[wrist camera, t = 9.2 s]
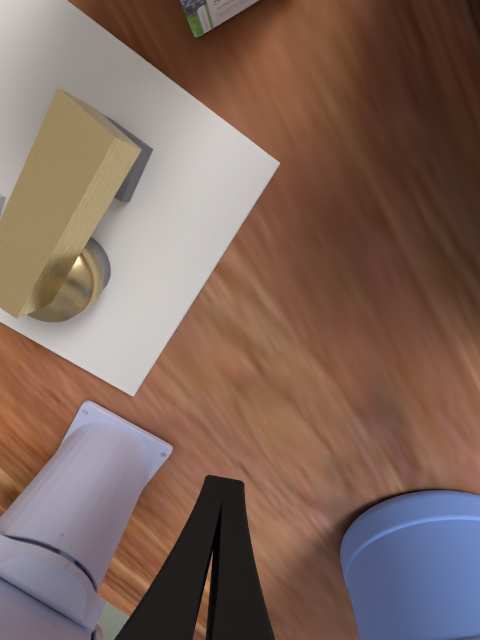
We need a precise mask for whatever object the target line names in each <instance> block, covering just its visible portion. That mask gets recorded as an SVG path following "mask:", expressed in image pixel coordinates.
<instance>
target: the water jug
mask: <svg viewBox="0 0 480 640" xmlns="http://www.w3.org/2000/svg"><path fill="white" fill-rule="evenodd" d="M340 560H341V565H342V573H343V577H344V581H345V584H346V587H347V589H348V592H349V593H350V598H351V602H352V607H353V612H354V616H355V621H356V626H357V630H358V635H359V640H480V495H477V494H472V493H468V492H461V491H451V490H430V491H420V492H413V493H408V494H404V495H400V496H397V497H394V498H391V499H388V500H385V501H383V502H381V503H379V504H377V505H375V506H373V507H371V508H370V509H368V510H367V511H365V512H364V513H363V514H361V515H360V516H359V517H358V518H357V519H356V520H355V521H354V522H353V523H352V524H351V525H350V527H349V528H348V530H347V531H346V533H345V535H344V537H343V540H342V544H341V549H340Z"/></svg>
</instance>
